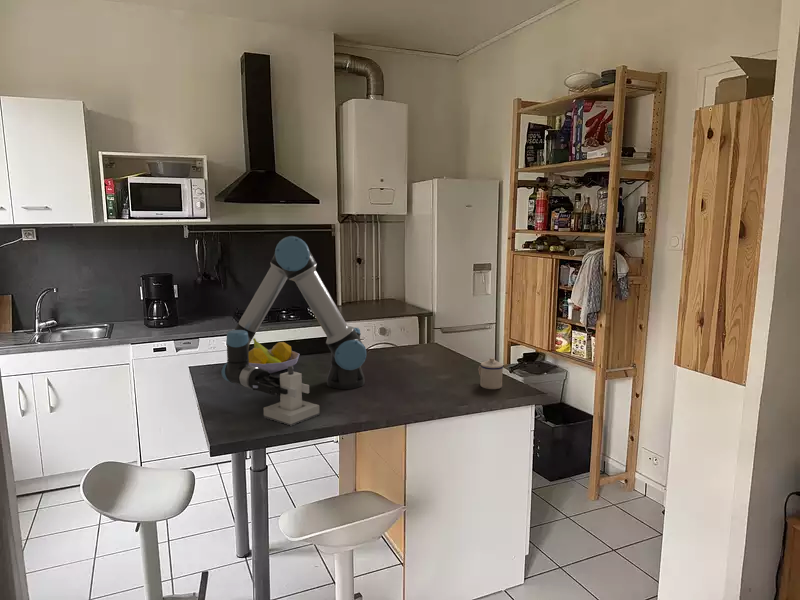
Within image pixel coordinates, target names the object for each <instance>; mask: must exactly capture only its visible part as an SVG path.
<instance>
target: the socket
mask: <svg viewBox="0 0 800 600" xmlns="http://www.w3.org/2000/svg"><path fill="white" fill-rule="evenodd" d="M317 415H319V416H320V405H319V404H316V403H312V402H309V401H307V400H306V401H305V400H302V408H299V409H297V410H294V411H288V410H284V409H281V408H280V401H279V402H276V403H272V404H270V405H268V406H264V407H263V418H264V419H266V418H267V420H269V419H270V421H272V420H274V421H273V422H275V421H277V422H276V423H278V422H280V423H279V424H281V423H284V424H287V425H290V426H291V425H294V424H296V423H299V422H301V423H303V422H302V421H304V420H306V419H309V418H311V417H314V416H316V417H318V416H317ZM314 418H315V417H314ZM311 419H312V418H311ZM309 420H310V419H309ZM306 421H307V420H306ZM304 422H305V421H304ZM284 424H283V425H284ZM299 424H300V423H299ZM287 425H286V426H287ZM296 425H297V424H296ZM290 426H289V427H290ZM294 426H295V425H294ZM291 427H292V426H291Z"/></svg>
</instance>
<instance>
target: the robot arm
mask: <svg viewBox="0 0 800 600" xmlns="http://www.w3.org/2000/svg"><path fill="white" fill-rule="evenodd" d="M317 264H318V263H317V261H316V259H315V258H314V256H313V254H312V252H311V251H310V248H309V246H308V244H307V243H306V241H304V240H303V239H302V238H300V237H298V236H295V235H289V236H285V237H283V238H281V239H280V240H279V242H278V243H277V244H276V247H275V251H274V254H273V257H272V258H271V260H270V267H269V269H268V270H267V273H266V275H265V276H264V277H263V280H262V281H261V282H260V284H259V287H258V288H257V290H256V291H255V293H254V295H253V297H252V299H251V301H250V302H249V303H248V306H247V307H246V309H245V310H244V312H243V314H242V316H241V318H240V319H239V321H238V323H237V325H236V327H235V328H234V329H233V330H232V329H231V330H229V331H227V333H226V341H225V343H226V354H227V355H226V356H227V358H226V359H227V360H226V361H227V362H226V363H225V364H223V366H222V369H221V373H220V374H221V376H222V379H223V380H225V381H226V382H229V383H230V384H234V385H238V386H242V387H246V388H248V389H250V390H253V391H258V392H262V393H265V394H267V395H268V394H269V395H271V396H274V395H276V396H277V397H280V393H281V394H284V395H287V396H290V397H294V398H296V397H297V390H296V389H294V388H290V387H287V386H283V385H282V386H281V388H280V376H277V375H273V374H271V373H269V372H268V371H267V370H264V369H260V368H257V367H253V366H249V351H250V350H249V348H250V344H251V342H252V340H253V339H254V338H255V335H256V334H257V333H256V332H258V329H259V328H260V326H261V325H262V323H263V321H264V319H265V318H266V316H267V314H268V313H269V312H270V309H271V307H272V306H273V305H274V302H275V300H276V299H277V297H278V296H279V294H280V292H281V291H282V289H283V287H284V286H285V284H286V281H287V280H289V281H293V282H295V283H294V284H296V287H298V290H299V291H300V292H301V295H302V297H303V299H305V301H306V303H307V306H309V308H310V310H311V312H312V313H313V315H314V317H315V318H316V320H317V322H318V324H319V325H320V328H321V329H322V331H323V332H324V334H325V335H326V341H325V344H326V346H327V347H328V349H329V351H330V353H331V354H330V359H331V360H330V369H329V372H328V373H327V377H326V385H327V387H330V388H333V389H336V390H338V389H340V390H350V389H352V390H353V389H357V388H360V387H362V386H364V385H365V375H364V371H363V370H362V366H363V364H364V363H365V361H366V359H367V348H366V346H365V344H363V342H362V341H361V330H360V328H359V327H354V326H350V325H348V324H347V322H346V320H345V319H344V317H343V315H342V314H341V311H340V310H339V308H338V306H337V305H336V303H335V301H334V300H333V298H332V296H331V294H330V292H329V291H328V288H327V287H326V286H325V284H324V281H322V278H321V276H320V275H319V273H318V272H317V270H316V269H317ZM302 393H305V394H309V393H310V385H309V384H305V383H303V382H302Z"/></svg>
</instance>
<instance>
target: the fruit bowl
mask: <svg viewBox="0 0 800 600" xmlns="http://www.w3.org/2000/svg"><path fill="white" fill-rule="evenodd" d="M252 340H253V348H252V349H250V350H249V366H253V367H257V368H260V369H264V370H267V371H268V372H269V373H270V374H275V373H277V372H281V371H283V370H286V369H287V370H288V366H293V367H294V366H295V365H296V364H297V363H298V360H299V357H300V353H298V352H296V351H293V350H292V346H291V345H290V344H288V343H286V341H285V342H284V341H280V342H277V343H275V345H273V347H272V348H270V349H268V348H267V347H265V346H264V345H262V344H261V343H260V342H258V341H257V339H256V337H253V339H252Z"/></svg>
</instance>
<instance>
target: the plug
mask: <svg viewBox="0 0 800 600" xmlns="http://www.w3.org/2000/svg"><path fill="white" fill-rule="evenodd" d="M302 375H303V374H302V372H301V373H300V372H297V371H294V365H293V366H288V368H287V372H286V371H285V372H283V373H280V374H279V377H280V388H281V386H282V385H283V386H287V387H290V388H294V389H296V390H297V397H296V398H294V397H290V396H287V395H284V394H281V393H280V396H279V397H280V398H279V399H280V401H279V402H280V408H281V409H284V410H288V411H294V410H297V409H299V408H302V401H303V396H302V395H303V394H302V393H303V392H302V383H303V382H302V381H303V380H302V378H303V376H302Z"/></svg>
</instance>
